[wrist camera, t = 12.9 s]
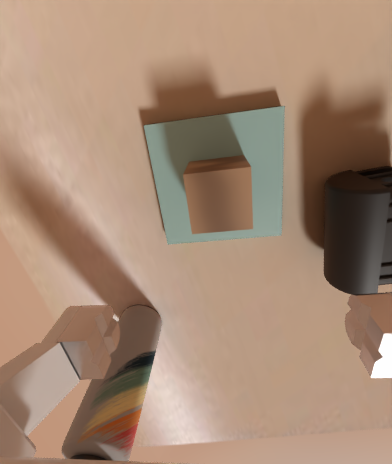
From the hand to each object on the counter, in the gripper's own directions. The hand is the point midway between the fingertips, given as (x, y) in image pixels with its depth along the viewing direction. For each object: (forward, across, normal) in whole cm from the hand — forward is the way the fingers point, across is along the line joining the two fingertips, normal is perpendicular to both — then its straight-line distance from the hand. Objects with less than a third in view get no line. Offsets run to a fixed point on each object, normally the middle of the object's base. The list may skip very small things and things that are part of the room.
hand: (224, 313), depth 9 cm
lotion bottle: (+18, +12, +18) cm, 28 cm away
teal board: (+18, 0, 0) cm, 18 cm away
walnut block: (+17, 0, 0) cm, 17 cm away
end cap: (+18, -13, +5) cm, 23 cm away
